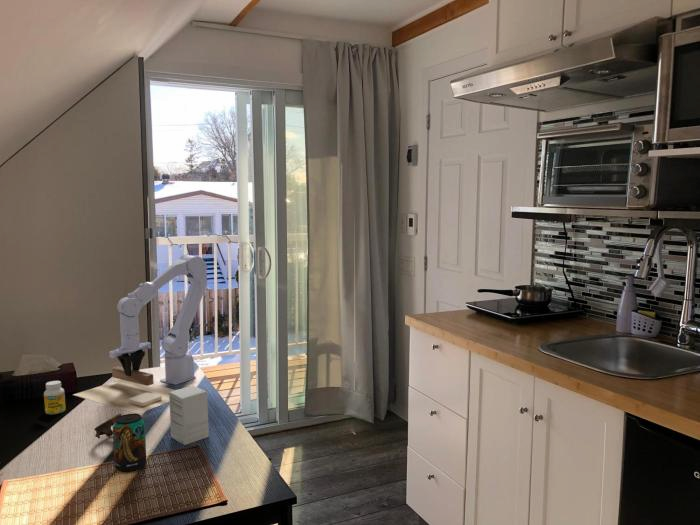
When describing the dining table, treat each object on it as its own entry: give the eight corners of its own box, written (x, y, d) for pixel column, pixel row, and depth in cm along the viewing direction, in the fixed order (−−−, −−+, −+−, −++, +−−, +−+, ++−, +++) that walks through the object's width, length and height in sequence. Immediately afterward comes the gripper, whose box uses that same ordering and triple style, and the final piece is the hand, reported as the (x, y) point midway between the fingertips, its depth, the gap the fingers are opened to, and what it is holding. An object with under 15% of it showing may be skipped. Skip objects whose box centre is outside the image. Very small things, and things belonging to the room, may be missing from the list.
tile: (146, 392, 181) (161, 396, 177) (147, 395, 181) (161, 399, 177) (127, 398, 175) (142, 403, 171) (128, 402, 175) (143, 406, 171)
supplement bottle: (64, 409, 172) (62, 378, 171) (67, 415, 168) (64, 383, 167) (44, 413, 169) (42, 382, 168) (46, 419, 165) (44, 386, 164)
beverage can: (115, 476, 130) (112, 425, 129) (114, 463, 137) (111, 415, 135) (147, 470, 133) (145, 420, 132) (145, 458, 139) (143, 410, 138)
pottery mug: (113, 455, 142) (97, 426, 142) (101, 460, 149) (85, 432, 149) (154, 428, 151) (139, 401, 151) (141, 434, 158) (126, 408, 158)
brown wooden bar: (118, 375, 195) (118, 366, 195) (153, 383, 186) (153, 374, 185) (112, 377, 193) (111, 367, 193) (147, 385, 184) (146, 376, 183)
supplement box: (195, 429, 156) (193, 384, 155) (209, 437, 151) (207, 391, 150) (170, 437, 151) (168, 391, 150) (184, 446, 146) (182, 398, 145)
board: (126, 380, 200) (126, 377, 199) (190, 396, 183) (190, 393, 182) (72, 397, 183) (72, 394, 183) (137, 417, 166) (137, 413, 166)
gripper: (140, 328, 196) (142, 366, 198) (102, 337, 184) (105, 378, 185) (154, 330, 192) (156, 369, 194) (116, 339, 180) (118, 381, 182)
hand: (132, 374), depth 189 cm, fingers closed on brown wooden bar, 2 cm apart
